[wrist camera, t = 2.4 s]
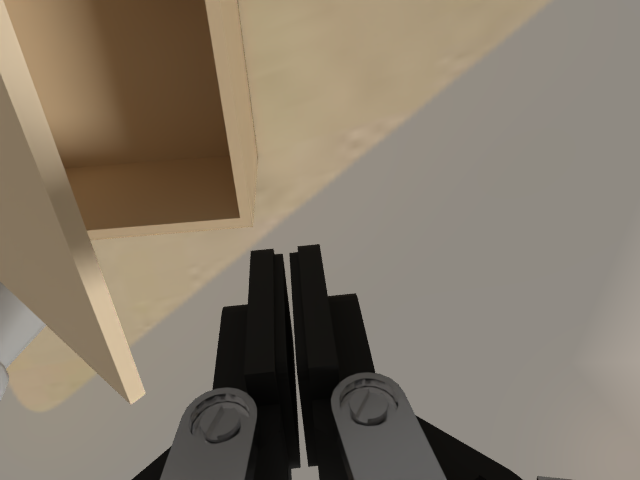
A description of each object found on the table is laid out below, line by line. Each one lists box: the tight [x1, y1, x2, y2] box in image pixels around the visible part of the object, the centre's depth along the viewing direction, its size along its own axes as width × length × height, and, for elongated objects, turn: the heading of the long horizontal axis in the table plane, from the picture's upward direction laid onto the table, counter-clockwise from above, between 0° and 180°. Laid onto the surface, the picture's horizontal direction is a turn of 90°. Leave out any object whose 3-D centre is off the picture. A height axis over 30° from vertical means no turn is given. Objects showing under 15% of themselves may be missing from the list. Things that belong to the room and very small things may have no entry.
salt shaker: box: [0, 282, 46, 401], centre depth 32 cm, size 6×6×13 cm
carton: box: [3, 0, 258, 240], centre depth 27 cm, size 14×13×9 cm
